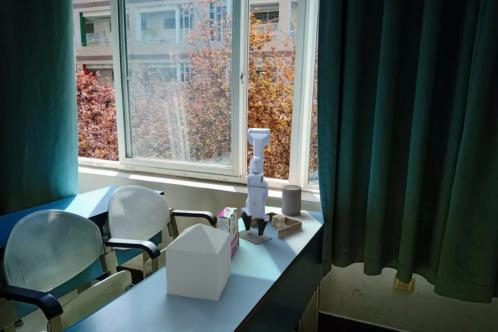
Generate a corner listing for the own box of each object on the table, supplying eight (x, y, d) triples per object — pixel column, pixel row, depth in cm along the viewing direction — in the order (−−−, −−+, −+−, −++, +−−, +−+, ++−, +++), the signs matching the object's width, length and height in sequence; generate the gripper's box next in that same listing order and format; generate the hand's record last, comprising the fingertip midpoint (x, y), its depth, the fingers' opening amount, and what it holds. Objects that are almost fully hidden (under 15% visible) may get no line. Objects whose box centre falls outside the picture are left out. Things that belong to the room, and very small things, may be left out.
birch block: (272, 226, 158) (272, 216, 157) (277, 224, 161) (278, 214, 160) (278, 229, 155) (279, 218, 154) (284, 227, 158) (285, 216, 157)
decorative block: (231, 273, 116) (231, 216, 112) (218, 301, 100) (218, 235, 96) (185, 268, 118) (184, 212, 115) (165, 294, 103) (163, 230, 99)
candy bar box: (224, 246, 136) (225, 206, 133) (237, 248, 135) (237, 207, 132) (216, 259, 125) (216, 216, 122) (230, 261, 124) (230, 217, 121)
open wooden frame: (249, 226, 158) (249, 219, 157) (271, 218, 168) (271, 211, 167) (279, 238, 145) (280, 230, 144) (301, 229, 155) (302, 221, 155)
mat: (233, 234, 148) (233, 233, 148) (248, 229, 154) (248, 228, 154) (257, 244, 138) (257, 243, 138) (272, 238, 145) (272, 237, 145)
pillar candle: (301, 211, 180) (302, 183, 177) (299, 217, 171) (300, 187, 168) (282, 209, 182) (283, 181, 179) (279, 215, 173) (280, 186, 170)
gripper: (236, 199, 146) (235, 230, 149) (261, 208, 136) (260, 240, 139) (248, 196, 151) (247, 226, 154) (273, 204, 141) (271, 235, 144)
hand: (254, 232), depth 147 cm, fingers open, 7 cm apart
